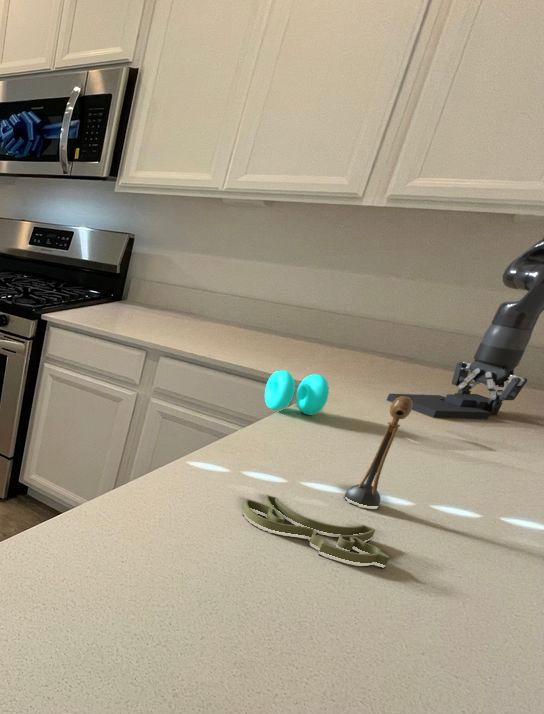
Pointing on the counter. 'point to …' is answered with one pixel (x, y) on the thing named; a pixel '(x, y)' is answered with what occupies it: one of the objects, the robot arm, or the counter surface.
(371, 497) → the wooden tabletop sculpture
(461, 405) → the tab pad
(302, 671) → the counter surface
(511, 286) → the robot arm
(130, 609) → the counter surface
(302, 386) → the donuts
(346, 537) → the cookie cutter
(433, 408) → the notch pad
